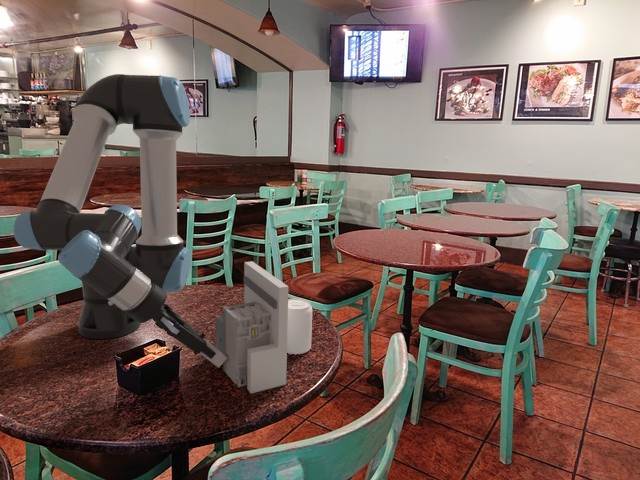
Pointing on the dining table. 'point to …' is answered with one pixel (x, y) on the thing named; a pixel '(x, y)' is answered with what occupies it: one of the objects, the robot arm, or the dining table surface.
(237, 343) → the circuit breaker
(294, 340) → the beverage can
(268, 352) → the grey upright angular piece
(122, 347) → the dining table surface
